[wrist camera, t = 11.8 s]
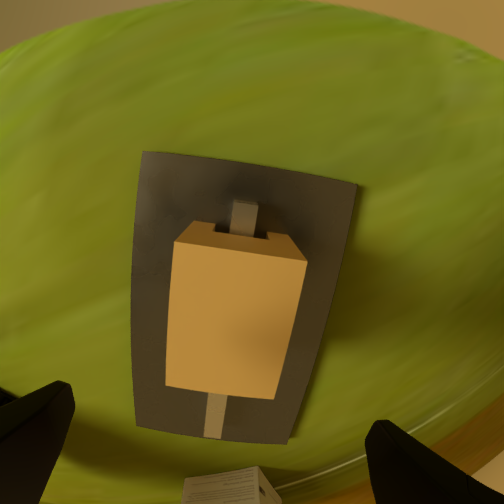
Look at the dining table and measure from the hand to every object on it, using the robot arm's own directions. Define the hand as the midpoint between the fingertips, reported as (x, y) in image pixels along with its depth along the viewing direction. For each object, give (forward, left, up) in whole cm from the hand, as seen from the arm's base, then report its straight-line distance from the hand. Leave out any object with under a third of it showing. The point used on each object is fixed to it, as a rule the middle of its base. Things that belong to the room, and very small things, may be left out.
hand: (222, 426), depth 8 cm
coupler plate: (-3, 0, -11) cm, 12 cm away
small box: (-23, -3, -12) cm, 26 cm away
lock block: (0, 0, -11) cm, 11 cm away
